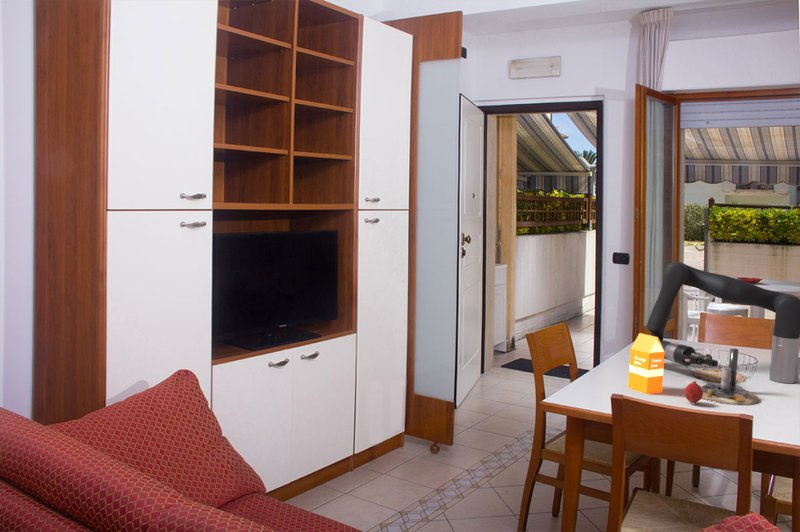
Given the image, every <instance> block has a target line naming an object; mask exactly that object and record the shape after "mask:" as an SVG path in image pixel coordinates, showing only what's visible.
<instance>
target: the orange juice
mask: <svg viewBox="0 0 800 532" xmlns="http://www.w3.org/2000/svg"><path fill="white" fill-rule="evenodd" d="M664 353H665V352H664V349H663V347H662V345H661V343H660V341H659V339H658V337H655V336H651V334H645V333H642V332H639V333H638V335H637V337H636V339H635V341H634V343H633V344H632V346H631V347H630V351H629V354H630V355H629V368H628V371H629V372H628V386H627V388H628V389H631V390H633V391H636V392H639V393H642V394H645V395H651V394H658V393H663V380H664V368H665V367H664V365H665V359H664Z"/></svg>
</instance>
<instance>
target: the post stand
mask: <svg viewBox="0 0 800 532" xmlns="http://www.w3.org/2000/svg"><path fill="white" fill-rule="evenodd" d="M731 370H732V369H731V368H729V366H728V367H727V366H722V368H721V379H720V384H721V390H723V391H730V383H731ZM699 386H700V387H701V389H702V387H703V386H704V385H699ZM702 398H703V399H702ZM702 398H701V399H702V400H704V399H707V400H706V401H708V400H711V401H710V402H712V401H716V402H715V403H717V402H721V403H720V404H723V403H729V404H728V405H731V404H738V405H737V406H749V405H754V404H757V403H758V402H759V396H758V395H757V394H755V393H753V392H751V391H749V395H748V396H747V397H745V401H737V400H735V399H733V398H724V397H719V396H714V395H712V389H708V393H706V392H704V391H703V396H702Z"/></svg>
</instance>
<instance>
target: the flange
mask: <svg viewBox="0 0 800 532" xmlns="http://www.w3.org/2000/svg"><path fill="white" fill-rule="evenodd" d="M729 350H730V352H729V363H728V368H731V369H732V370H731V383H730V391H723V390H721V383H706V384H705V385H704V386H703V385H702V386H703V387H702V391H704V392H706V393H708V389H712V395H714V396H719V397H724V398H733V399H735V400H737V401H745V397H747V396H748V395H749V392H750V391H749V390H747V389H745V388H742V387H740V386H738V384H737V375H738V374H737V373H738V372H737V370H738V360H739V349H738V348H730V349H729Z"/></svg>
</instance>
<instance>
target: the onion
mask: <svg viewBox="0 0 800 532" xmlns="http://www.w3.org/2000/svg"><path fill="white" fill-rule="evenodd" d="M700 386H701V385H699V384H698V383H697V381H696V380H693V381H692V382H690V383H689V384H688V385H687V386H686V387H685V388H684V390H683V394H684V397H685V399H686V400H687V401H688V402H689V403H690V404H691V403H695V404H696V403H698V402H699V401H701V400H702V396H703V391H702V389H701V387H700Z"/></svg>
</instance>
